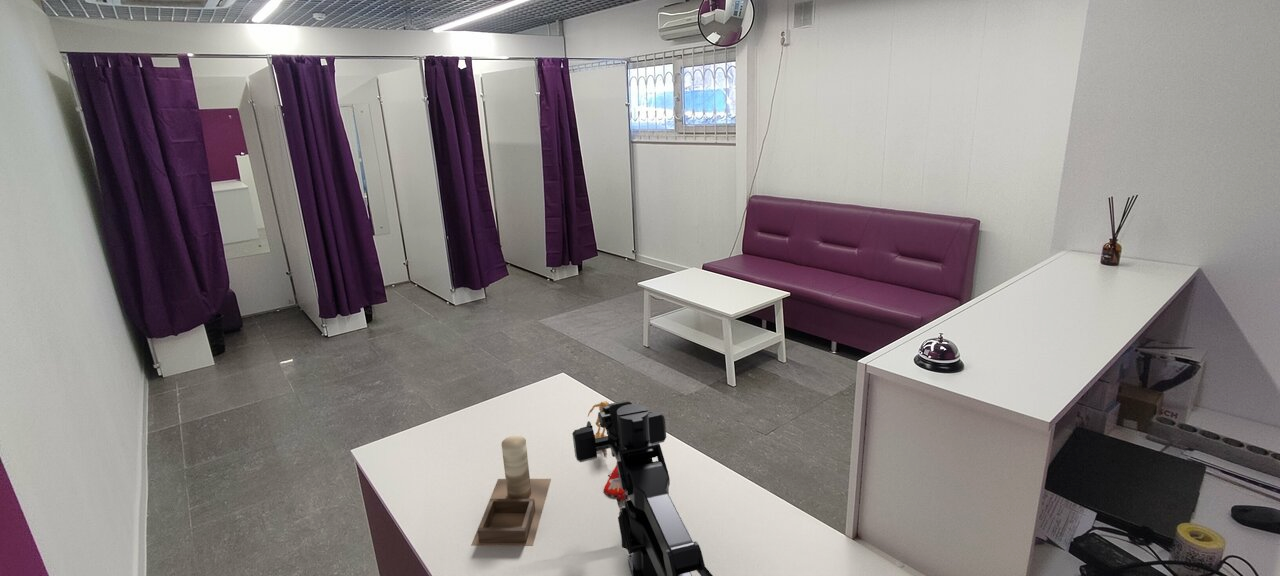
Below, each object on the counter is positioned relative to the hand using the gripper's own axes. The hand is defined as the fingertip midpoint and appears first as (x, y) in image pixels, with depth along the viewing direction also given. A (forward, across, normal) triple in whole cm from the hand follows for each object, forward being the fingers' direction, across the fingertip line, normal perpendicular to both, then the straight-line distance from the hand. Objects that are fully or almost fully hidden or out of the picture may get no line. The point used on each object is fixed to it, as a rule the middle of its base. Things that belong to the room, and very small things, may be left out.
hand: (609, 418), depth 125 cm
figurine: (+16, -1, +16) cm, 22 cm away
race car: (+1, -2, +17) cm, 17 cm away
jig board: (-1, +22, +16) cm, 28 cm away
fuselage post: (+3, +21, +15) cm, 26 cm away
